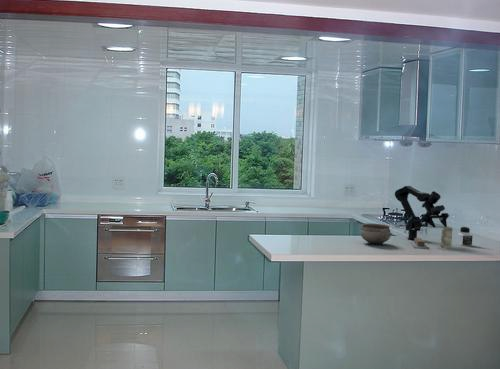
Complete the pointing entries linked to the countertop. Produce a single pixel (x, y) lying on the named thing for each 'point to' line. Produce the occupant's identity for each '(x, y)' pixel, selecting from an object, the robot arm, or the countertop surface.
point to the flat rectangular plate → (419, 243)
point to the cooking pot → (375, 233)
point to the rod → (446, 237)
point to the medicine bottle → (464, 237)
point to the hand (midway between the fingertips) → (440, 227)
